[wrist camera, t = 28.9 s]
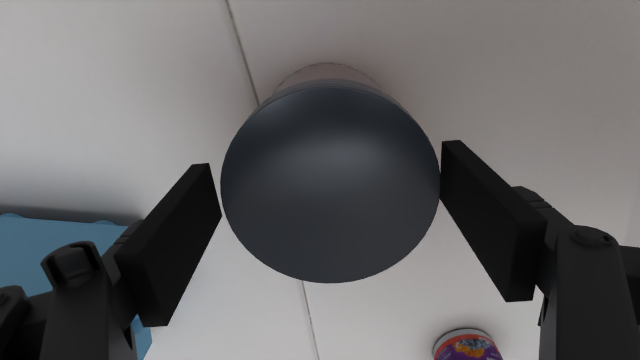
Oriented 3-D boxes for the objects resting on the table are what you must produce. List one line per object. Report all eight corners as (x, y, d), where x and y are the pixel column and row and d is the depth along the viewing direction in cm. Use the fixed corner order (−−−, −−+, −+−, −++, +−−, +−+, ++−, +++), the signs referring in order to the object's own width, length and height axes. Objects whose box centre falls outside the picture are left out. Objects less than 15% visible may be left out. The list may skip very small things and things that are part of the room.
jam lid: (434, 67, 14) (448, 73, 12) (428, 252, 18) (438, 276, 16) (210, 89, 15) (196, 98, 13) (250, 265, 18) (243, 290, 17)
